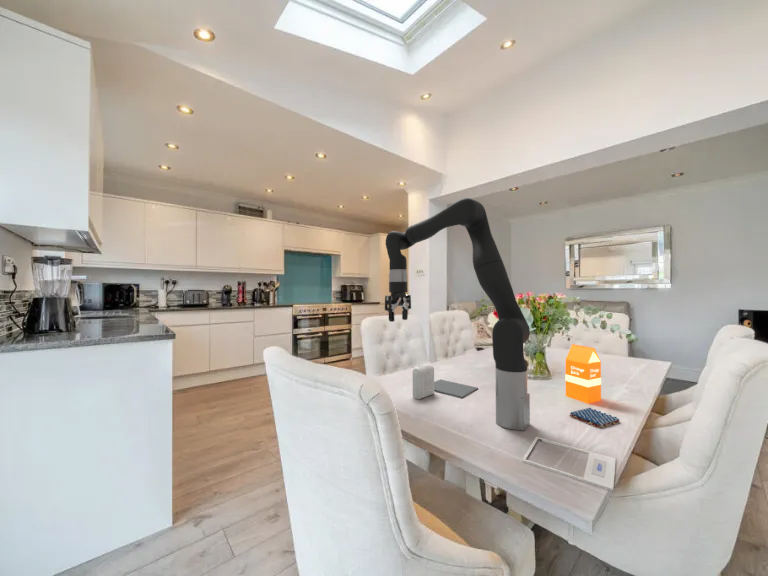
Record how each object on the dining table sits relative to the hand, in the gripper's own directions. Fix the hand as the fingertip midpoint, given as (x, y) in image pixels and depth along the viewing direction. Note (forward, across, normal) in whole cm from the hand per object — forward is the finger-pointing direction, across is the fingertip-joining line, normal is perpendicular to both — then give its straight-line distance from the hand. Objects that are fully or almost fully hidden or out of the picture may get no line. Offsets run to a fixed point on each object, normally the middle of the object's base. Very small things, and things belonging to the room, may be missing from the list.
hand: (398, 320), depth 127 cm
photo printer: (+30, +3, -10) cm, 31 cm away
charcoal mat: (+29, +17, -14) cm, 37 cm away
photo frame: (+30, -12, -63) cm, 71 cm away
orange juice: (+30, +40, -58) cm, 76 cm away
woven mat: (+30, +20, -64) cm, 74 cm away
